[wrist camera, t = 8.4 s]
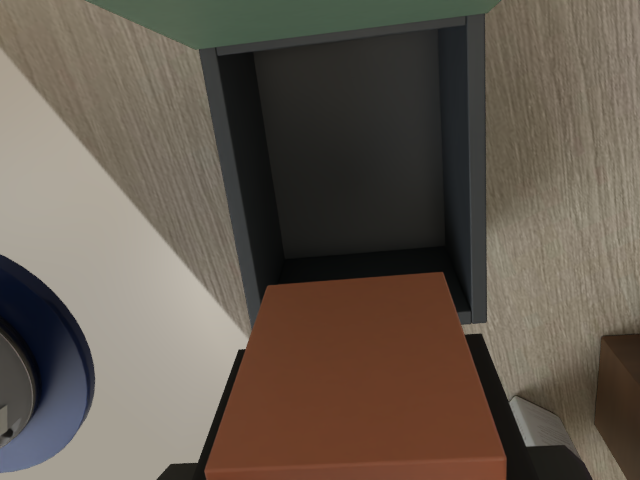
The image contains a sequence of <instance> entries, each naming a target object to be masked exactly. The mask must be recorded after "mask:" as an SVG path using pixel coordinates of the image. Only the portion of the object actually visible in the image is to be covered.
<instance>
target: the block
mask: <svg viewBox="0 0 640 480" xmlns="http://www.w3.org/2000/svg"><path fill="white" fill-rule="evenodd" d="M506 466H507V458H506V455H505V452H504V449H503V446H502V443H501V440H500V437H499V434H498V432H497V429H496V426H495V423H494V420H493V417H492V414H491V411H490V408H489V405H488V402H487V399H486V396H485V393H484V391H483V388H482V385H481V382H480V379H479V376H478V373H477V370H476V367H475V364H474V361H473V358H472V355H471V352H470V350H469V347H468V344H467V341H466V338H465V335H464V332H463V329H462V326H461V323H460V320H459V317H458V314H457V311H456V309H455V306H454V303H453V300H452V297H451V294H450V291H449V288H448V285H447V282H446V279H445V276H444V274H443V272H433V273H420V274H408V275H395V276H382V277H369V278H356V279H344V280H331V281H318V282H305V283H292V284H280V285H269V286H267V288H266V291H265V294H264V297H263V300H262V303H261V306H260V309H259V312H258V315H257V317H256V320H255V323H254V326H253V329H252V332H251V335H250V338H249V341H248V344H247V347H246V350H245V353H244V356H243V359H242V362H241V364H240V367H239V370H238V373H237V376H236V379H235V382H234V385H233V388H232V391H231V394H230V397H229V400H228V403H227V406H226V408H225V411H224V414H223V417H222V420H221V423H220V426H219V429H218V432H217V435H216V438H215V441H214V444H213V447H212V450H211V452H210V455H209V458H208V461H207V464H206V467H205V470H204V472H205V476H206V480H506Z"/></svg>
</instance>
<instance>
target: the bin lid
mask: <svg viewBox="0 0 640 480" xmlns="http://www.w3.org/2000/svg"><path fill="white" fill-rule="evenodd" d="M85 1H88V2H90V3H92V4H94V5H97V6H99V7H101V8H103V9H106V10H108V11H110V12H112V13H115V14H117V15H119V16H121V17H124V18H126V19H128V20H130V21H133V22H135V23H137V24H139V25H141V26H144V27H146V28H148V29H150V30H153V31H155V32H157V33H159V34H162V35H164V36H166V37H168V38H171V39H173V40H175V41H177V42H180V43H182V44H184V45H186V46H189V47H191V48H193V49H195V50H197V49H205V48H213V47H221V46H229V45H237V44H245V43H253V42H261V41H269V40H277V39H285V38H293V37H301V36H308V35H316V34H324V33H332V32H340V31H348V30H356V29H364V28H372V27H380V26H388V25H396V24H404V23H412V22H420V21H428V20H436V19H444V18H452V17H460V16H468V15H476V14H484V13H488V12H489V11H490V10H491V9H492V8H494V7H495V6H496V5H497V4H498V3H499V2H500V1H501V0H85Z"/></svg>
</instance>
